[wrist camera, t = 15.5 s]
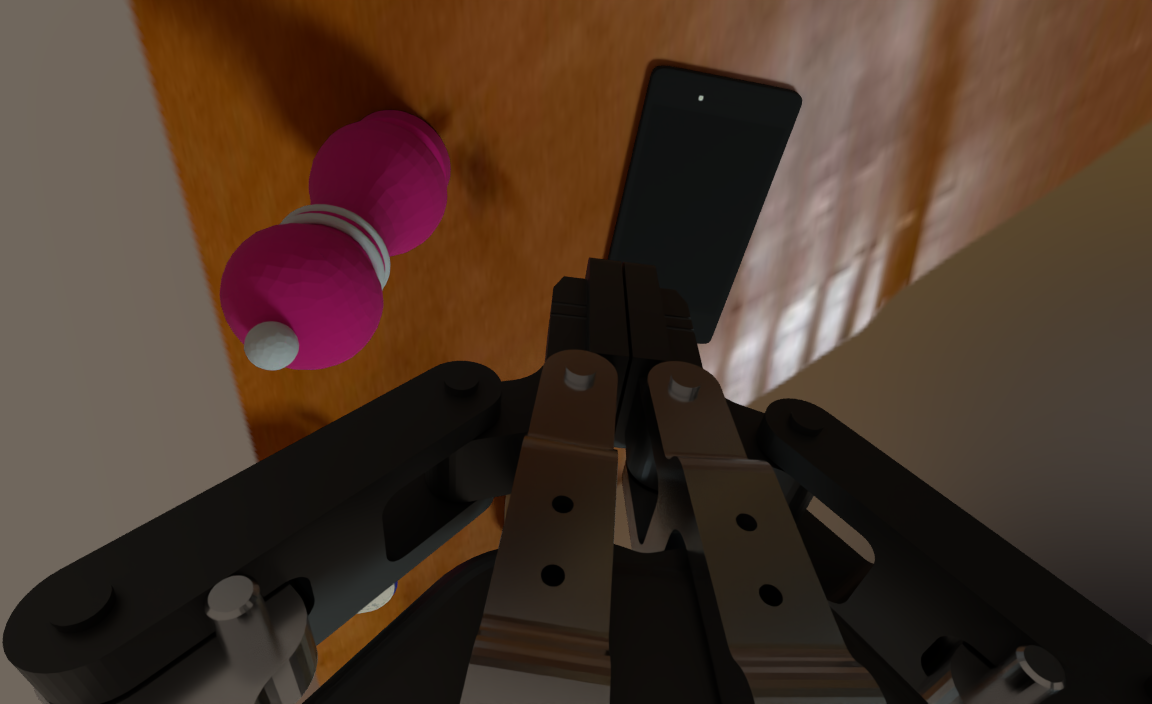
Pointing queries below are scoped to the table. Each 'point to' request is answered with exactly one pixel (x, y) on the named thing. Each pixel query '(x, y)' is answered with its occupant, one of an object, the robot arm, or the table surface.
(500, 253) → the table surface
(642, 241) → the cell phone
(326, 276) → the pepper mill
